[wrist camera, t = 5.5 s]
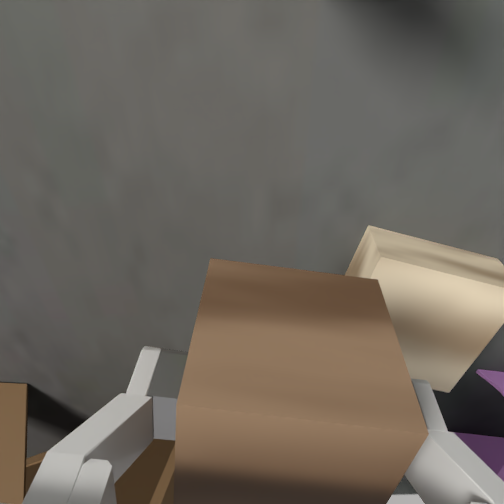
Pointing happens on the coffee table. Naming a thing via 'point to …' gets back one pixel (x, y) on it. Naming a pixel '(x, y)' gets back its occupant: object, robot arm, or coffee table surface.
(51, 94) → the coffee table surface
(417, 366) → the beech block
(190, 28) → the coffee table surface
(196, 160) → the coffee table surface
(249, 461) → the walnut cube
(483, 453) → the toy chair
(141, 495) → the photo frame
